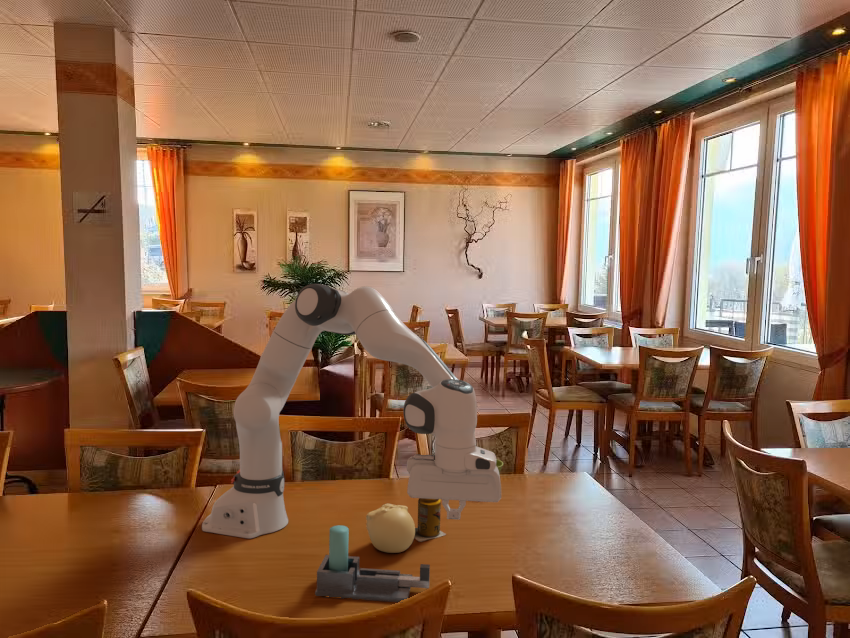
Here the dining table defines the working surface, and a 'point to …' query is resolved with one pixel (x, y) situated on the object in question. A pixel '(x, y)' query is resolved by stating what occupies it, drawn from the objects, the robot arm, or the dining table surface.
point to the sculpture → (391, 528)
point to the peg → (338, 548)
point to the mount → (359, 583)
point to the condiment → (428, 519)
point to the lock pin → (414, 578)
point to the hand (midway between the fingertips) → (453, 518)
